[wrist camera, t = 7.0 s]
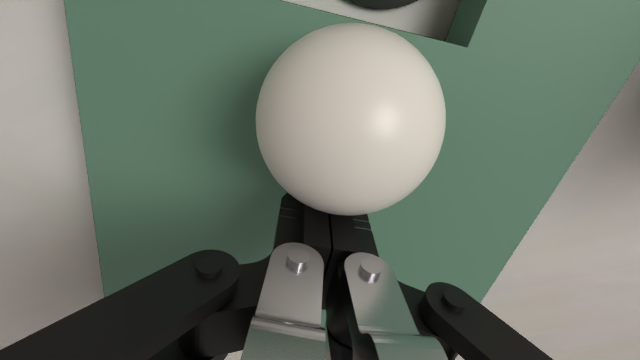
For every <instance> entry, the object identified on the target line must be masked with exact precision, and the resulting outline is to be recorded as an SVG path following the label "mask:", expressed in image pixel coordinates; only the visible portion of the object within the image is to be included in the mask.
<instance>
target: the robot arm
mask: <svg viewBox="0 0 640 360" xmlns="http://www.w3.org/2000/svg"><path fill="white" fill-rule="evenodd" d="M321 309H322V310H326V321H325V324H324V327H321ZM240 350H243V353H242V356H241V360H455V358H456V357H457V355H458V354H459V355H460V356H461V357H462V358H463V359H465V360H553V359H552V358H550V357H549V356H548V355H546V354H545V353H544V352H543V351H541V350H540V349H539V348H537V347H536V346H535V345H533V344H532V343H531V342H530V341H528V340H527V339H526V338H524V337H523V336H522V335H520V334H519V333H518V332H517V331H515V330H514V329H513V328H511V327H510V326H509V325H507V324H506V323H505V322H504V321H502V320H501V319H500V318H498V317H497V316H496V315H494V314H493V313H492V312H491V311H489V310H488V309H487V308H485V307H484V306H483V305H481V304H480V303H479V302H478V301H476V300H475V299H474V298H472V297H471V296H470V295H468V294H467V293H466V292H464V291H463V290H462V289H460V288H458V287H456V286H454V285H452V284H449V283H445V282H434V283H431V284H430V285H429V286H428V287H427V289H426V291H425V292H424V291H421V290H419V289H416V288H414V287H411V286H409V285H406V284H404V283H402V282H400V281H398V280H397V279H396V276H395V274H394V272H393V270H392V268H391V267H390V266H389V264H388V263H387V262H385V261H384V260H383V259H381V258H379V255H378V251H377V247H376V244H375V240H374V237H373V233H372V231H371V226H370V223H369V218H368V215H367V214H363V215H353V216H346V215H335V214H330V213H326V212H323V211H319V210H316V209H314V208H311V207H309V206H307V205H305V204H304V203H302V202H300V201H298V200H297V199H296V198H294V197H293V196H292V195H290V194H289V193H288V192H287V193H286V194H285V195H284V196H283V197H282V199H281V204H280V210H279V215H278V221H277V226H276V232H275V238H274V245H273V251H272V252H271V254H270V255H269V256H267V257H266V258H264V259H263V260H260V261H257V262H254V263H248V264H239V263H238V261H237V260H236V259H235V258H234V257H233V256H232V255H230V254H229V253H226V252H224V251H220V250H212V249H210V250H201V251H197V252H195V253H192V254H190V255H188V256H186V257H184V258H182V259H180V260H178V261H176V262H174V263H172V264H170V265H168V266H166V267H164V268H162V269H160V270H158V271H156V272H154V273H152V274H150V275H148V276H146V277H144V278H142V279H140V280H138V281H136V282H135V283H133V284H131V285H129V286H127V287H125V288H123V289H121V290H119V291H117V292H115V293H113V294H111V295H109V296H107V297H105V298H103V299H101V300H99V301H97V302H95V303H93V304H91V305H89V306H87V307H85V308H83V309H81V310H79V311H77V312H75V313H73V314H71V315H69V316H67V317H65V318H63V319H61V320H59V321H57V322H55V323H53V324H51V325H49V326H47V327H45V328H43V329H41V330H39V331H37V332H35V333H33V334H31V335H29V336H27V337H25V338H23V339H22V340H20V341H18V342H16V343H14V344H12V345H10V346H8V347H6V348H4V349H2V350H0V360H224V359H225V357H226V356H227V355H228V353H231V352H236V351H240Z"/></svg>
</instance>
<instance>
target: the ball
mask: <svg viewBox="0 0 640 360" xmlns="http://www.w3.org/2000/svg"><path fill="white" fill-rule="evenodd" d="M445 128H446V108H445V101H444V96H443V92H442V89H441V86H440V83H439V80H438V78H437V76H436V74H435V73H434V71H433V69H432V67H431V65H430V64H429V62H428V61H427V60H426V59H425V57H424V56H423V55H422V54H421V53H420V51H419V50H418V49H417V48H415V47H414V46H413V45H412V44H411V43H409V42H408V41H407V40H406V39H404V38H403V37H401V36H399V35H398V34H396V33H394V32H391V31H389V30H387V29H384V28H381V27H378V26H375V25H370V24H365V23H341V24H334V25H330V26H326V27H323V28H321V29H318V30H315V31H313V32H311V33H309V34H307V35H305V36H303V37H302V38H300V39H299V40H297V41H296V42H294V43H293V44H292V45H291V46H289V47H288V48H287V49H286V50H285V51H284V52H283V53H282V54H281V55H280V57H279V58H278V59H277V60H276V61H275V63H274V64H273V66H272V67H271V69H270V70H269V72H268V74H267V76H266V78H265V80H264V82H263V85H262V87H261V90H260V94H259V98H258V102H257V107H256V135H257V140H258V144H259V148H260V151H261V154H262V156H263V159H264V162H265V163H266V165H267V167H268V169H269V171H270V172H271V174H272V175H273V177H274V178H275V179H276V181H277V182H278V183H279V184H280V185H281V186H282V187H283V188H284V189H285V190H286V191H287V192H288V193H289V194H290V195H292V196H293V197H294V198H296V199H297V200H298V201H300V202H302V203H304V204H305V205H307V206H309V207H311V208H314V209H316V210H319V211H323V212H326V213H330V214H335V215H346V216H353V215H363V214H368V213H373V212H377V211H379V210H382V209H385V208H387V207H390V206H392V205H393V204H395V203H397V202H399V201H400V200H402V199H404V198H405V197H406V196H407V195H409V194H410V193H411V192H412V191H414V190H415V189H416V188H417V187H418V185H419V184H420V183H421V182H422V181H423V180H424V179H425V177H426V176H427V175H428V173H429V172H430V170H431V169H432V167H433V165H434V163H435V161H436V159H437V157H438V155H439V152H440V149H441V146H442V143H443V139H444V134H445Z"/></svg>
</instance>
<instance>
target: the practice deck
mask: <svg viewBox="0 0 640 360" xmlns="http://www.w3.org/2000/svg"><path fill="white" fill-rule="evenodd" d="M350 1H352V2H354V3H356V4H359V5H362V6H365V7H370V8H375V9H389V8H397V7H401V6H405V5H408V4H410V3H413V2H415V1H417V0H350ZM64 5H65V13H66V20H67V27H68V34H69V42H70V49H71V56H72V64H73V71H74V78H75V85H76V93H77V100H78V107H79V115H80V122H81V129H82V136H83V144H84V151H85V158H86V166H87V173H88V180H89V187H90V195H91V202H92V209H93V217H94V224H95V231H96V238H97V246H98V253H99V260H100V268H101V275H102V282H103V289H104V297H107V296H109V295H111V294H113V293H115V292H117V291H119V290H121V289H123V288H125V287H127V286H129V285H131V284H133V283H135V282H136V281H138V280H140V279H142V278H144V277H146V276H148V275H150V274H152V273H154V272H156V271H158V270H160V269H162V268H164V267H166V266H168V265H170V264H172V263H174V262H176V261H178V260H180V259H182V258H184V257H186V256H188V255H190V254H192V253H195V252H197V251H201V250H210V249H212V250H220V251H224V252H226V253H229V254H230V255H232V256H233V257H234V258H235V259H236V260H237V261H238V263H239V264H248V263H254V262H257V261H260V260H263V259H264V258H266V257H267V256H269V255H270V254H271V252H272V251H273V245H274V238H275V232H276V226H277V221H278V215H279V210H280V204H281V199H282V197H283V196H284V195H285V194H286V193H287V191H286V190H285V189H284V188H283V187H282V186H281V185H280V184H279V183H278V182H277V181H276V179H275V178H274V177H273V175H272V174H271V172H270V171H269V169H268V167H267V165H266V163H265V162H264V159H263V156H262V154H261V151H260V148H259V144H258V140H257V135H256V107H257V102H258V98H259V94H260V90H261V87H262V85H263V82H264V80H265V78H266V76H267V74H268V72H269V70H270V69H271V67H272V66H273V64H274V63H275V61H276V60H277V59H278V58H279V57H280V55H281V54H282V53H283V52H284V51H285V50H286V49H287V48H288V47H289V46H291V45H292V44H293V43H294V42H296V41H297V40H299V39H300V38H302V37H303V36H305V35H307V34H309V33H311V32H313V31H315V30H318V29H321V28H323V27H326V26H330V25H334V24H341V23H365V24H370V25H375V26H378V27H381V28H384V29H387V30H389V31H391V32H394V33H396V34H398V35H399V36H401V37H403V38H404V39H406V40H407V41H408V42H409V43H411V44H412V45H413V46H414V47H415V48H417V49H418V50H419V51H420V53H421V54H422V55H423V56H424V57H425V59H426V60H427V61H428V62H429V64H430V65H431V67H432V69H433V71H434V73H435V74H436V76H437V78H438V80H439V83H440V86H441V89H442V92H443V96H444V101H445V108H446V128H445V134H444V139H443V143H442V146H441V149H440V152H439V155H438V157H437V159H436V161H435V163H434V165H433V167H432V169H431V170H430V172H429V173H428V175H427V176H426V177H425V179H424V180H423V181H422V182H421V183H420V184H419V185H418V187H417V188H416V189H415V190H414V191H412V192H411V193H410V194H409V195H407V196H406V197H405V198H404V199H402V200H400V201H399V202H397V203H395V204H393V205H392V206H390V207H387V208H385V209H382V210H379V211H377V212H373V213H368V214H367V215H368V218H369V223H370V226H371V231H372V233H373V237H374V240H375V244H376V247H377V251H378V255H379V258H381V259H383V260H384V261H385V262H387V263H388V264H389V266H390V267H391V268H392V270H393V272H394V274H395V276H396V279H397V280H398V281H400V282H402V283H404V284H406V285H409V286H411V287H414V288H416V289H419V290H421V291H424V292H425V291H426V289H427V287H428V286H429V285H430V284H431V283H434V282H445V283H449V284H452V285H454V286H456V287H458V288H460V289H462V290H463V291H464V292H466V293H467V294H468V295H470V296H471V297H472V298H474V299H475V300H476V301H478V302H479V303H481V301H482V300H483V298H484V297H485V295H486V293H487V292H488V290H489V289H490V287H491V286H492V284H493V283H494V281H495V280H496V278H497V277H498V275H499V274H500V272H501V271H502V269H503V268H504V266H505V265H506V263H507V261H508V260H509V258H510V257H511V255H512V254H513V252H514V251H515V249H516V248H517V246H518V245H519V243H520V242H521V240H522V239H523V237H524V236H525V234H526V233H527V231H528V230H529V228H530V226H531V225H532V223H533V222H534V220H535V219H536V217H537V216H538V214H539V213H540V211H541V210H542V208H543V207H544V205H545V204H546V202H547V201H548V199H549V198H550V196H551V194H552V193H553V191H554V190H555V188H556V187H557V185H558V184H559V182H560V181H561V179H562V178H563V176H564V175H565V173H566V172H567V170H568V169H569V167H570V166H571V164H572V163H573V161H574V159H575V158H576V156H577V155H578V153H579V152H580V150H581V149H582V147H583V146H584V144H585V143H586V141H587V140H588V138H589V137H590V135H591V134H592V132H593V131H594V129H595V127H596V126H597V124H598V123H599V121H600V120H601V118H602V117H603V115H604V114H605V112H606V111H607V109H608V108H609V106H610V105H611V103H612V102H613V100H614V99H615V97H616V96H617V94H618V92H619V91H620V89H621V88H622V86H623V85H624V83H625V82H626V80H627V79H628V77H629V76H630V74H631V73H632V71H633V70H634V68H635V67H636V65H637V64H638V62H639V60H640V0H460V3H459V6H458V8H457V11H456V14H455V16H454V19H453V22H452V24H451V27H450V30H449V32H448V35H447V38H446V40H445V41H442V40H438V39H434V38H430V37H426V36H422V35H418V34H414V33H410V32H406V31H402V30H398V29H394V28H390V27H386V26H382V25H378V24H374V23H370V22H366V21H362V20H358V19H354V18H350V17H346V16H342V15H338V14H334V13H330V12H326V11H322V10H318V9H314V8H310V7H306V6H302V5H298V4H294V3H290V2H286V1H282V0H64ZM325 321H326V310H322V309H321V327H324V324H325Z"/></svg>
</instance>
